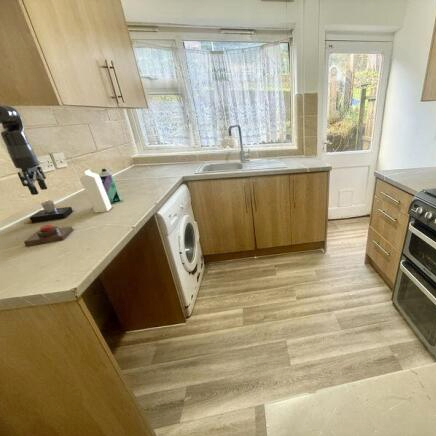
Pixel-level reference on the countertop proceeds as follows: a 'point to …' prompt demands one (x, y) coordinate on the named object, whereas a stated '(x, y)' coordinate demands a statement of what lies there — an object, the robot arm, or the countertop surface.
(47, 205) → the hob knob
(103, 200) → the milk
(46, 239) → the igniter
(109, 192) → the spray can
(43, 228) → the button
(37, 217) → the panel
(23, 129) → the robot arm
